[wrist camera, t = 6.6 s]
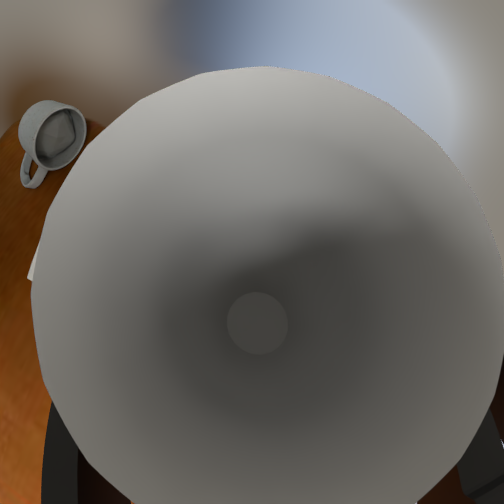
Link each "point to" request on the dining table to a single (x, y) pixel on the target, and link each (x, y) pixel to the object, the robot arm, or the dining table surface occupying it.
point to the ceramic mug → (50, 138)
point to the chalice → (268, 297)
